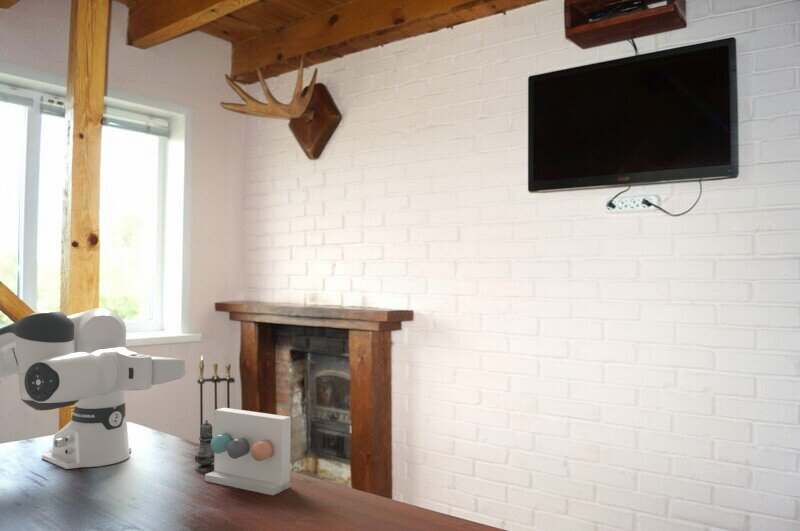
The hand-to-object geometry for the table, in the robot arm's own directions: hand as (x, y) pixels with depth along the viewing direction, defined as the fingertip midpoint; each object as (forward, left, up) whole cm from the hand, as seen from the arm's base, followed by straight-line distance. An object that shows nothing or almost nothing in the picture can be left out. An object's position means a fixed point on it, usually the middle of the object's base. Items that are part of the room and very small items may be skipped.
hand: (169, 361), depth 137 cm
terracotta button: (+16, +13, -22) cm, 30 cm away
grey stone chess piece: (-7, +19, -30) cm, 36 cm away
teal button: (+4, +13, -22) cm, 26 cm away
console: (+10, +14, -29) cm, 34 cm away
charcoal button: (+10, +11, -22) cm, 27 cm away
